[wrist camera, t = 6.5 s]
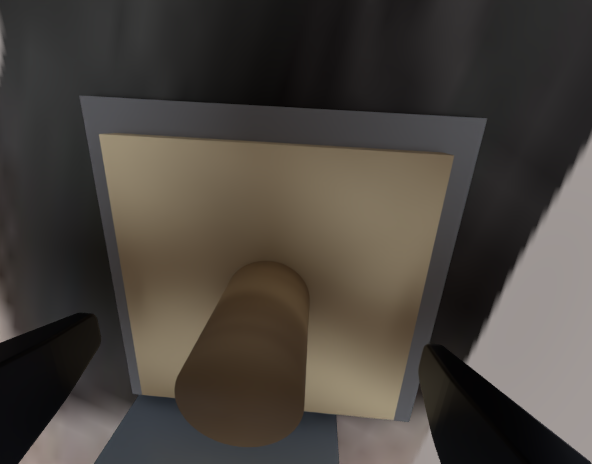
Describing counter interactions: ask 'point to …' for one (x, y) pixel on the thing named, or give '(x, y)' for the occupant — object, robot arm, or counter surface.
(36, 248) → the counter surface
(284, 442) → the dish
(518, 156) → the counter surface
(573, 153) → the counter surface
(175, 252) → the lid
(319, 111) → the mat
